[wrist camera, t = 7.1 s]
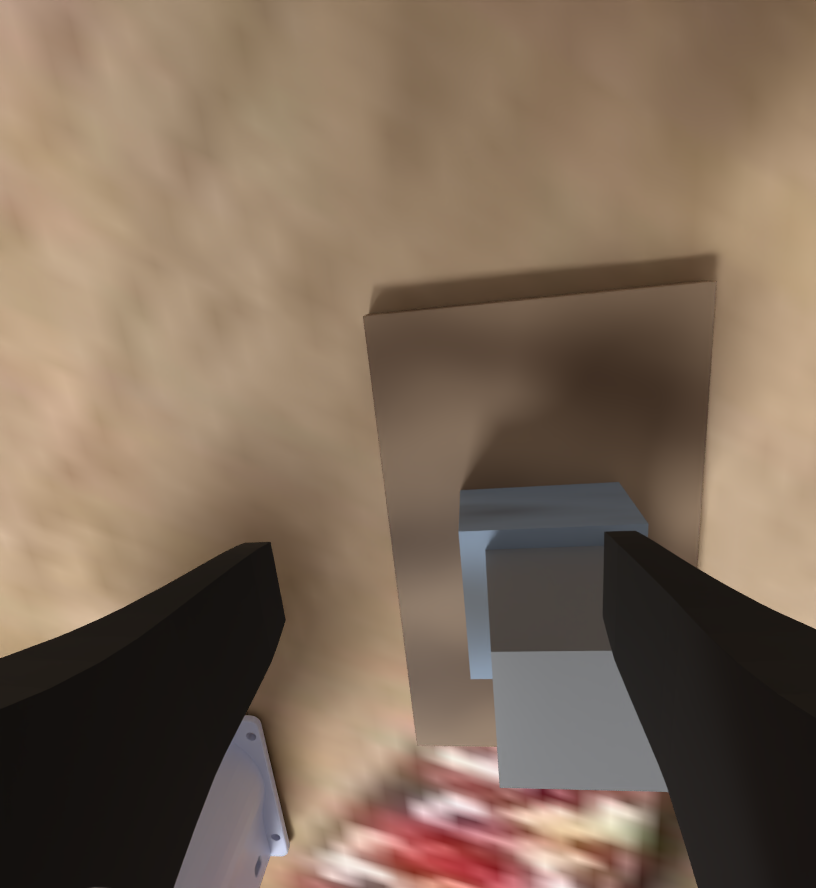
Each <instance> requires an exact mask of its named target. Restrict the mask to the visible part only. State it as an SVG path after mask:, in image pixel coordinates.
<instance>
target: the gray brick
mask: <svg viewBox="0 0 816 888" xmlns="http://www.w3.org/2000/svg"><path fill="white" fill-rule="evenodd" d="M485 556H486V574H487V592H488V610H489V628H490V645H491V662H492V677H493V692H494V707H495V722H496V737H497V753H498V768H499V783H500V788H535V789H575V790H616V791H656V792H668V789H667V786H666V784H665V781H664V778H663V776H662V773H661V770H660V768H659V765H658V763H657V760H656V758H655V755H654V753H653V751H652V748H651V746H650V744H649V741H648V739H647V737H646V734H645V732H644V730H643V727H642V725H641V722H640V720H639V718H638V715H637V713H636V711H635V708H634V706H633V704H632V701H631V699H630V697H629V694H628V692H627V689H626V687H625V685H624V682H623V680H622V677H621V675H620V673H619V670H618V668H617V665H616V663H615V660H614V657H613V653H612V650H611V646H610V643H609V639H608V635H607V632H606V628H605V624H604V620H603V570H604V546H578V547H550V548H522V549H494V550H485Z"/></svg>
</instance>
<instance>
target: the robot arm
mask: <svg viewBox="0 0 816 888" xmlns="http://www.w3.org/2000/svg"><path fill="white" fill-rule="evenodd" d="M603 620H604V624H605V628H606V632H607V635H608V639H609V643H610V646H611V650H612V653H613V657H614V660H615V663H616V665H617V668H618V670H619V673H620V675H621V677H622V680H623V682H624V685H625V687H626V689H627V692H628V694H629V697H630V699H631V701H632V704H633V706H634V708H635V711H636V713H637V715H638V718H639V720H640V722H641V725H642V727H643V730H644V732H645V734H646V737H647V739H648V741H649V744H650V746H651V748H652V751H653V753H654V755H655V758H656V760H657V763H658V765H659V768H660V770H661V773H662V776H663V778H664V781H665V784H666V786H667V789H668V792H669V795H670V798H671V801H672V804H673V808H674V811H675V814H676V817H677V820H678V824H679V827H680V830H681V833H682V836H683V839H684V843H685V846H686V849H687V852H688V856H689V859H690V862H691V866H692V869H693V873H694V876H695V879H696V883H697V886H698V888H816V629H814V628H812V627H810V626H807V625H805V624H803V623H801V622H799V621H796V620H794V619H792V618H790V617H787V616H785V615H783V614H781V613H779V612H777V611H774V610H772V609H770V608H768V607H766V606H764V605H762V604H760V603H758V602H756V601H755V600H753V599H751V598H749V597H747V596H745V595H743V594H741V593H740V592H738V591H736V590H734V589H732V588H730V587H728V586H727V585H725V584H723V583H721V582H720V581H718V580H716V579H714V578H713V577H711V576H709V575H708V574H706V573H704V572H703V571H701V570H699V569H698V568H696V567H694V566H693V565H691V564H690V563H688V562H686V561H685V560H683V559H682V558H680V557H678V556H677V555H675V554H674V553H672V552H670V551H669V550H667V549H666V548H664V547H663V546H661V545H659V544H658V543H656V542H655V541H653V540H651V539H650V538H648V537H646V536H645V535H643V534H641V533H639V532H637V531H607V532H604V570H603ZM284 623H285V614H284V609H283V604H282V599H281V594H280V588H279V583H278V578H277V573H276V568H275V563H274V557H273V552H272V547H271V542H257V543H243V544H241V545H238V546H236V547H234V548H232V549H230V550H228V551H226V552H224V553H222V554H220V555H218V556H217V557H215V558H213V559H211V560H209V561H208V562H206V563H204V564H202V565H201V566H199V567H197V568H195V569H194V570H192V571H190V572H188V573H186V574H185V575H183V576H181V577H179V578H178V579H176V580H174V581H172V582H171V583H169V584H167V585H165V586H163V587H161V588H160V589H158V590H156V591H154V592H152V593H150V594H148V595H146V596H144V597H142V598H141V599H139V600H137V601H135V602H133V603H131V604H129V605H127V606H125V607H124V608H122V609H119V610H117V611H115V612H113V613H111V614H109V615H107V616H105V617H103V618H101V619H98V620H96V621H94V622H92V623H89V624H87V625H85V626H83V627H80V628H78V629H76V630H73V631H71V632H69V633H66V634H64V635H62V636H59V637H57V638H54V639H51V640H48V641H46V642H43V643H40V644H38V645H35V646H32V647H30V648H27V649H24V650H22V651H19V652H16V653H14V654H11V655H8V656H5V657H3V658H0V888H260V885H261V882H262V879H263V876H264V873H265V870H266V867H267V864H268V861H269V858H270V856H284V855H286V854H287V853H288V850H289V847H290V844H289V839H288V835H287V831H286V827H285V822H284V818H283V814H282V810H281V805H280V801H279V797H278V793H277V788H276V784H275V780H274V776H273V771H272V767H271V763H270V759H269V754H268V750H267V746H266V742H265V737H264V733H263V729H262V725H261V722H260V720H259V719H258V718H257V717H255V716H251V715H245V714H246V712H247V710H248V708H249V706H250V704H251V702H252V700H253V698H254V696H255V694H256V692H257V690H258V688H259V686H260V684H261V682H262V680H263V678H264V676H265V674H266V672H267V670H268V668H269V666H270V664H271V661H272V659H273V656H274V654H275V651H276V648H277V645H278V642H279V639H280V636H281V633H282V630H283V626H284ZM252 733H253V734H252Z"/></svg>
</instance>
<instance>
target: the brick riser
mask: <svg viewBox="0 0 816 888" xmlns="http://www.w3.org/2000/svg"><path fill="white" fill-rule="evenodd" d="M716 286H717V281H696V282H686V283H676V284H666V285H656V286H646V287H636V288H626V289H616V290H606V291H596V292H586V293H576V294H566V295H556V296H546V297H536V298H526V299H516V300H506V301H496V302H486V303H476V304H466V305H456V306H446V307H436V308H426V309H416V310H406V311H396V312H386V313H376V314H368V315H365V316H363V319H364V327H365V335H366V343H367V351H368V359H369V367H370V375H371V383H372V391H373V399H374V407H375V415H376V423H377V431H378V439H379V447H380V455H381V462H382V470H383V478H384V486H385V494H386V502H387V510H388V518H389V526H390V534H391V542H392V550H393V558H394V566H395V574H396V582H397V590H398V598H399V605H400V613H401V621H402V629H403V637H404V645H405V653H406V661H407V669H408V677H409V685H410V693H411V701H412V709H413V717H414V725H415V733H416V741H417V746H483V747H497V737H496V722H495V707H494V692H493V677H492V662H491V645H490V628H489V610H488V592H487V574H486V556H485V550H494V549H522V548H550V547H578V546H604V532H607V531H637V532H639V533H641V534H643V535H645V536H646V537H648V538H650V539H651V540H653V541H655V542H656V543H658V544H659V545H661V546H663V547H664V548H666V549H667V550H669V551H670V552H672V553H674V554H675V555H677V556H678V557H680V558H682V559H683V560H685V561H686V562H688V563H690V564H691V565H693V566H694V567H696V568H697V561H698V546H699V532H700V517H701V503H702V488H703V474H704V460H705V445H706V431H707V416H708V402H709V387H710V373H711V358H712V344H713V329H714V315H715V300H716Z"/></svg>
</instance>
